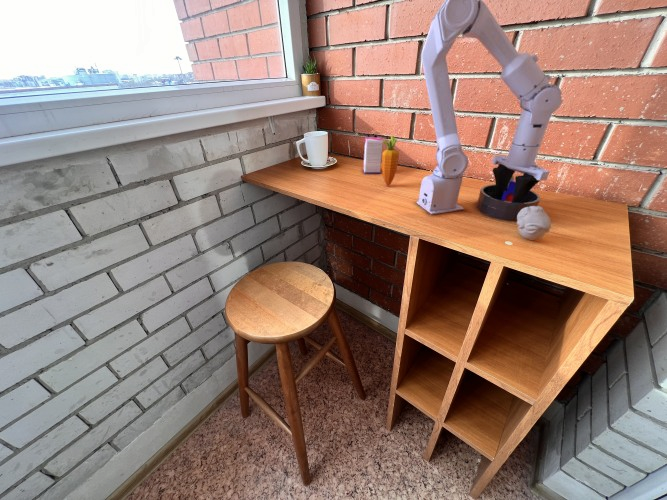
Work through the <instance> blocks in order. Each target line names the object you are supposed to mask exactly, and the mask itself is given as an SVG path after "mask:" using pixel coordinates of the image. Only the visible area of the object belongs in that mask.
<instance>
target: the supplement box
mask: <svg viewBox="0 0 667 500" xmlns="http://www.w3.org/2000/svg"><path fill="white" fill-rule="evenodd" d="M383 141H384V140H383V139H382V137H379V136H378V137H368V136H367V137H365V138H364V153H363V154H364V155H363V173H364V175H378V174H381V171H382V153H383V145H384V142H383Z"/></svg>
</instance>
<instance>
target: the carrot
mask: <svg viewBox="0 0 667 500" xmlns="http://www.w3.org/2000/svg"><path fill="white" fill-rule="evenodd" d="M396 143H397V139H396V138H395V136H394V135H391V136H390V139H389V140H388V141H387V140H383V144H385V145H386V147H387V148H386V149H384V150H382V158H381V172H382V177H383V181H384V183H385V185H386V187H390V185H391V184H392V182H393V180H394V179H395V176H396V173H397V169H398V164H399V157H400V152H399V151H398V150H397V149H395V148H394V147H395V145H396Z"/></svg>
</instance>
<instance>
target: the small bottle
mask: <svg viewBox="0 0 667 500" xmlns="http://www.w3.org/2000/svg"><path fill="white" fill-rule="evenodd" d="M515 186H516V181H514V182H510V183H509V186H508V190H507V191H504V193H503V196H502V199H501V200H503V201H508V202H512V199H513V195H514V190H515ZM516 203H518V201H517V202H516Z"/></svg>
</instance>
